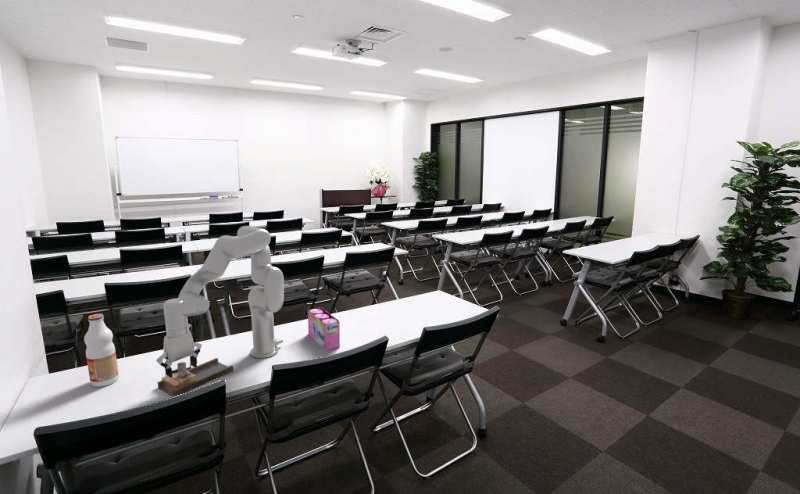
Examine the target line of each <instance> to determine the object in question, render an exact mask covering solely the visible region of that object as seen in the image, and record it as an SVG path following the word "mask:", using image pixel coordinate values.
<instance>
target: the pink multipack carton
mask: <svg viewBox="0 0 800 494" xmlns="http://www.w3.org/2000/svg"><path fill="white" fill-rule="evenodd" d="M307 324H308V325H307V327H308V328H307V330H308V336H310V338H311V339H313V341H315V342H316V343H317V344H318V345H319V346H320V347H321V348H322V349H323V351H324V352H326V351H329V350H334V349H338V348H340V345H341V341H340V338H341V337H340V335H341V334H340V333H341V332H340V330H341V329H340V327H341V325H340V320H338V319H337V318H336V317H335V316H334V315H332V314H331V313H329V312H328V311H327V310H325V308H324V307H321V306H318V307H317V308H313V309H310V308H309V309H307Z"/></svg>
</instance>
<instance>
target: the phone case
mask: <svg viewBox="0 0 800 494" xmlns="http://www.w3.org/2000/svg"><path fill="white" fill-rule="evenodd" d="M190 357H191V355H190V356H188V357H185V358H183V359H180V360H177V361H175V362H173V363H172V364H171V366H170V367H171V368H172V374H175V373H177V372H178V366H177V364H178V363H180V362H186V369H187V370H188V369H191V368H192V366H191V360H190Z"/></svg>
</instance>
